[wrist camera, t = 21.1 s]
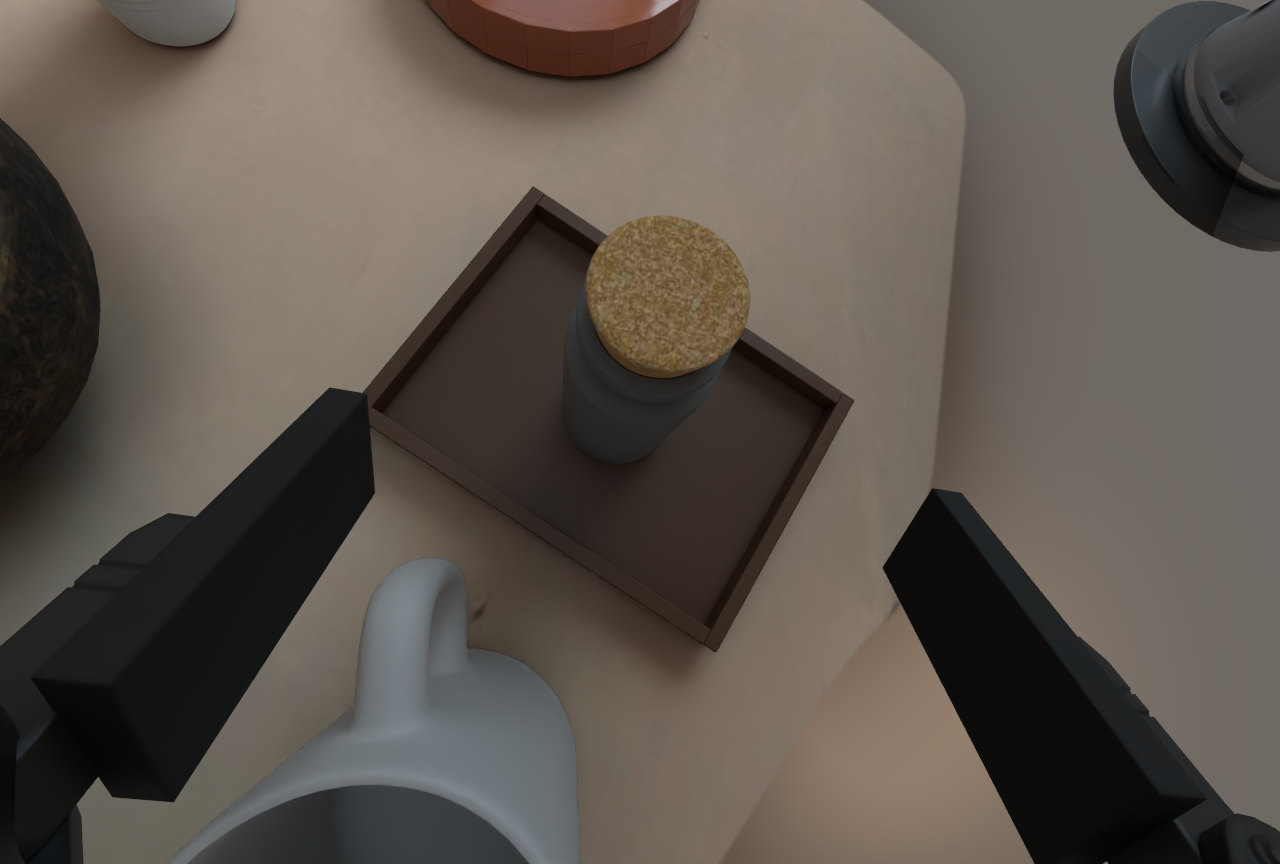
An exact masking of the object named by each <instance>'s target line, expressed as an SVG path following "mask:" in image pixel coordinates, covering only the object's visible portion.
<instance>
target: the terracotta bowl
mask: <svg viewBox="0 0 1280 864" xmlns="http://www.w3.org/2000/svg"><path fill="white" fill-rule="evenodd" d="M426 2H427V3H428V4H429V5H430V6H431V7H432V9H433V10H434V11H435V12H436V13H437V14H438V15H439V16H440V17H441V18H442V19H443V20H444V22H445V23H446V24H447V25H448V26H449V27H450V28H451V29H452V30H453V31H454V32H455V33H457V34H458V35H460V36H461V37H462V38H464V39H465V40H467V41H468V42H470V43H471V44H473V45H474V46H476V47H477V48H479V49H480V50H482V51H483V52H485V53H486V54H488V55H490V56H493V57H496V58H498V59H501V60H503V61H506V62H509V63H511V64H514V65H516V66H519V67H521V68H524V69H527V70H529V71H535V72H541V73H548V74H554V75H561V76H567V77H569V76H586V75H600V74H608V73H609V74H611V73H614V72H617V71H620V70H623V69H626V68H629V67H632V66H636V65H639V64H642V63H645V62H646V61H648V60H649V59H651V58H652V57H654V56H655V55H657V54H658V53H660V52H661V51H663V50H664V49H666V48H667V47H669V46H670V45H672V43H673V42H674V41H675V40H676V39H677V37H678V36H679V35H680V34H681V32H682V31H683V30H684V29H685V28H686V26H687V25H688V24H689V23H690V21H691V20H692V18H693V16H694V13H695V10H696V8H697V5H698V2H699V0H426Z"/></svg>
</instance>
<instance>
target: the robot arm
mask: <svg viewBox="0 0 1280 864" xmlns="http://www.w3.org/2000/svg"><path fill="white" fill-rule="evenodd" d="M1173 93H1174V102H1175V107H1176V111H1177V114H1178V117H1179V120H1180V122H1181V125H1182V127H1183V129H1184V131H1185V133H1186V135H1187V136H1188V138H1189V140H1190V141H1191V143H1192V144H1193V146H1194V147H1195V148H1196V150H1197V151H1198V152H1199V154H1200V155H1201V156H1202V157H1203V158H1204V159H1205V160H1206V162H1207V163H1208V164H1209V165H1210V166H1212V167H1213V168H1214V169H1215V170H1216V171H1217V172H1218V173H1220V174H1221V175H1222V176H1223V177H1225V178H1226V179H1228V180H1229V181H1231V182H1232V183H1234V184H1236V185H1237V186H1239V187H1241V188H1243V189H1245V190H1248V191H1250V192H1253V193H1256V194H1259V195H1262V196H1267V197H1273V198H1280V0H1268V1H1267V2H1265V3H1263V4H1261V5H1260V6H1258V7H1256V8H1254V9H1253V10H1251V11H1249V12H1247V13H1245V14H1243V15H1241V16H1239V17H1237V18H1235V19H1233V20H1231V21H1229V22H1227V23H1225V24H1224V25H1222V26H1220V27H1219V28H1217V29H1215V30H1214V31H1212V32H1211V33H1210V34H1208V35H1207V36H1206V37H1204V38H1203V39H1202V40H1200V41H1199V42H1198V43H1197V44H1195V45H1194V46H1193V47H1191V48H1190V49H1189V50H1188V51H1187V52H1186V53H1185V54H1184V55H1183V57H1182V58H1181V60H1180V62H1179V63H1178V66H1177V68H1176V71H1175V76H1174V83H1173ZM374 494H375V487H374V474H373V462H372V450H371V437H370V425H369V413H368V400H367V394H365V393H359V392H353V391H347V390H341V389H335V388H329V389H328V390H327V391H325V392H324V393H323V394H322V395H321V396H320V397H319V398H318V399H317V400H316V401H315V402H314V403H313V404H312V405H311V406H310V407H309V408H308V409H307V410H306V411H305V412H304V413H303V414H302V415H301V416H300V417H299V418H298V419H297V420H295V421H294V422H293V423H292V424H291V425H290V426H289V427H288V428H287V429H286V430H285V431H284V432H283V433H282V434H281V435H280V436H279V437H278V438H277V439H276V440H275V441H274V442H273V443H272V444H271V445H270V446H269V447H268V448H267V449H266V450H264V451H263V452H262V453H261V454H260V455H259V456H258V457H257V458H256V459H255V460H254V461H253V462H252V463H251V464H250V465H249V466H248V467H247V468H246V469H245V470H244V471H243V472H242V473H241V474H240V475H239V476H238V477H237V478H236V479H234V480H233V481H232V482H231V483H230V484H229V485H228V486H227V487H226V488H225V489H224V490H223V491H222V492H221V493H220V494H219V495H218V496H217V497H216V498H215V499H214V500H213V501H212V502H211V503H210V504H209V505H208V506H207V507H206V508H205V509H203V510H202V511H201V512H200V513H199V514H198V515H197V516H196V517H192V516H185V515H178V514H170V513H168V514H166V515H164V516H162V517H160V518H158V519H156V520H154V521H152V522H150V523H149V524H147V525H145V526H143V527H141V528H139V529H137V530H135V531H133V532H131V533H129V534H128V535H127V536H126V537H125V538H124V539H123V540H121V541H120V542H119V543H118V544H117V545H116V546H115V547H113V548H112V549H111V550H110V551H109V552H108V553H107V554H105V555H104V556H103V557H102V558H101V559H100V562H99V564H98V565H93V566H92V567H90V568H89V569H88V570H87V571H86V572H85V573H84V574H82V575H81V576H80V577H79V578H78V579H77V580H76V581H74V582H75V584H74V586H73V587H71V588H70V587H68V588H66V589H65V590H64V591H63V592H62V593H61V594H60V595H58V596H57V597H56V598H55V599H54V600H53V601H52V602H50V603H49V604H48V605H47V606H46V607H45V608H44V609H42V610H41V611H40V612H39V613H38V614H37V615H36V616H34V617H33V618H32V619H31V620H30V621H29V622H28V623H26V624H25V625H24V626H23V627H22V628H21V629H20V630H18V631H17V632H16V633H15V634H14V635H13V636H11V637H10V638H9V639H8V640H7V641H6V642H5V643H3V644H2V645H1V646H0V864H83V843H82V820H81V814H80V812H79V809H78V807H77V803H78V802H79V800H80V799H81V798H82V796H83V795H84V794H85V793H86V791H87V790H88V789H89V788H90V786H91V785H92V784H93V782H94V781H95V780H96V779H97V777H99V778H100V780H101V781H102V783H103V784H104V786H105V787H106V788H107V790H108V791H109V793H110V794H111V796H112V797H117V798H129V799H141V800H153V801H166V802H174V801H175V799H176V798H177V796H178V795H179V793H180V792H181V790H182V789H183V787H184V786H185V784H186V783H187V781H188V779H189V778H190V776H191V775H192V773H193V772H194V770H195V769H196V767H197V766H198V764H199V763H200V761H201V760H202V758H203V756H204V755H205V753H206V752H207V750H208V749H209V747H210V746H211V744H212V743H213V741H214V740H215V738H216V736H217V735H218V733H219V732H220V730H221V729H222V727H223V726H224V724H225V723H226V721H227V720H228V718H229V716H230V715H231V713H232V712H233V710H234V709H235V707H236V706H237V704H238V703H239V701H240V700H241V698H242V697H243V695H244V693H245V692H246V690H247V689H248V687H249V686H250V684H251V683H252V681H253V680H254V678H255V677H256V675H257V673H258V672H259V670H260V669H261V667H262V666H263V664H264V663H265V661H266V660H267V658H268V657H269V655H270V653H271V652H272V650H273V649H274V647H275V646H276V644H277V643H278V641H279V640H280V638H281V637H282V635H283V633H284V632H285V630H286V629H287V627H288V626H289V624H290V623H291V621H292V620H293V618H294V617H295V615H296V614H297V612H298V610H299V609H300V607H301V606H302V604H303V603H304V601H305V600H306V598H307V597H308V595H309V594H310V592H311V590H312V589H313V587H314V586H315V584H316V583H317V581H318V580H319V578H320V577H321V575H322V574H323V572H324V570H325V569H326V567H327V566H328V564H329V563H330V561H331V560H332V558H333V557H334V555H335V554H336V552H337V551H338V549H339V547H340V546H341V544H342V543H343V541H344V540H345V538H346V537H347V535H348V534H349V532H350V531H351V529H352V527H353V526H354V524H355V523H356V521H357V520H358V518H359V517H360V515H361V514H362V512H363V511H364V509H365V507H366V506H367V504H368V503H369V501H370V500H371V498H372V497H373V495H374ZM883 570H884V572H885V574H886V575H887V577H888V579H889V581H890V583H891V585H892V587H893V589H894V591H895V593H896V595H897V597H898V599H899V601H900V603H901V605H902V607H903V608H904V610H905V612H906V614H907V616H908V618H909V620H910V622H911V624H912V626H913V628H914V630H915V632H916V634H917V636H918V638H919V640H920V642H921V644H922V645H923V648H924V649H925V651H926V653H927V655H928V657H929V659H930V661H931V663H932V665H933V667H934V669H935V671H936V673H937V675H938V677H939V679H940V681H941V683H942V685H943V686H944V688H945V690H946V692H947V694H948V696H949V698H950V700H951V702H952V704H953V706H954V708H955V710H956V712H957V714H958V715H959V718H960V720H961V721H962V723H963V725H964V727H965V729H966V731H967V733H968V735H969V737H970V739H971V741H972V743H973V745H974V747H975V749H976V751H977V753H978V755H979V757H980V759H981V760H982V762H983V764H984V766H985V768H986V770H987V772H988V774H989V776H990V778H991V780H992V782H993V784H994V786H995V787H996V790H997V792H998V794H999V796H1000V797H1001V799H1002V801H1003V803H1004V805H1005V807H1006V809H1007V811H1008V813H1009V815H1010V817H1011V819H1012V821H1013V823H1014V825H1015V827H1016V829H1017V830H1018V833H1019V834H1020V836H1021V838H1022V840H1023V842H1024V844H1025V846H1026V848H1027V850H1028V852H1029V854H1030V856H1031V857H1032V860H1033V862H1034V864H1103V863H1104V862H1106V861H1107V862H1108V864H1280V832H1279V831H1278V830H1277V829H1275V828H1273V827H1271V826H1269V825H1268V824H1266V823H1264V822H1262V821H1260V820H1258V819H1256V818H1254V817H1250V816H1246V815H1242V814H1234V813H1233V811H1232V810H1231V809H1230V808H1229V807H1228V806H1227V805H1226V804H1225V803H1224V801H1223V800H1222V799H1221V798H1220V797H1219V795H1218V794H1217V793H1216V792H1215V790H1214V789H1213V788H1212V787H1211V786H1210V785H1209V783H1208V782H1207V781H1206V780H1205V779H1204V777H1203V776H1202V775H1201V773H1200V772H1199V771H1198V770H1197V769H1196V767H1195V766H1194V765H1193V764H1192V763H1191V761H1190V760H1189V759H1188V758H1187V756H1186V755H1185V754H1184V753H1183V752H1182V750H1180V748H1179V747H1178V746H1177V744H1176V743H1175V742H1174V741H1173V739H1172V738H1171V737H1170V736H1169V735H1168V734H1167V732H1166V731H1165V730H1164V729H1163V727H1162V726H1161V725H1160V724H1159V723H1158V721H1157V720H1156V719H1155V718H1154V717H1150V716H1149V710H1148V709H1147V708H1146V707H1145V706H1144V705H1143V703H1142V702H1141V701H1140V699H1138V697H1137V696H1136V695H1135V694H1131V692H1130V690H1131V689H1130V687H1129V686H1128V685H1127V684H1126V683H1125V681H1124V680H1123V679H1122V678H1121V676H1120V675H1119V674H1118V673H1117V672H1116V670H1115V669H1114V668H1113V667H1112V665H1111V664H1110V663H1109V662H1108V661H1107V660H1106V659H1105V658H1103V657H1102V656H1101V655H1100V654H1099V653H1098V652H1097V651H1095V650H1094V649H1093V648H1092V647H1091V646H1090V645H1088V644H1087V643H1086V642H1085V641H1084V640H1083V639H1082V638H1080V637H1077V636H1076V634H1075V633H1074V632H1073V631H1072V629H1071V628H1070V627H1069V626H1068V624H1067V623H1066V622H1065V621H1064V620H1063V619H1062V617H1061V616H1060V615H1059V613H1058V612H1057V611H1056V610H1055V608H1054V607H1053V606H1052V605H1051V603H1050V602H1049V601H1048V600H1047V598H1046V597H1045V596H1044V595H1043V593H1042V592H1041V591H1040V590H1039V588H1038V587H1037V586H1036V585H1035V584H1034V582H1033V581H1032V580H1031V579H1030V577H1029V576H1028V575H1027V574H1026V572H1025V571H1024V570H1023V569H1022V567H1021V566H1020V565H1019V564H1018V562H1017V561H1016V560H1015V559H1014V557H1013V556H1012V555H1011V554H1010V552H1009V551H1008V550H1007V549H1006V548H1005V546H1004V545H1003V544H1002V543H1001V541H1000V540H999V539H998V538H997V536H996V535H995V534H994V533H993V531H992V530H991V529H990V528H989V526H988V525H987V524H986V523H985V521H984V520H983V519H982V518H981V516H980V515H979V514H978V513H977V511H976V510H975V509H974V508H973V506H972V505H971V504H970V503H969V502H968V501H967V499H966V498H965V497H964V495H963V494H962V493H958V492H951V491H946V490H940V489H934V488H932V490H931V492H930V493H929V495H928V496H927V498H926V499H925V501H924V503H923V504H922V506H921V507H920V509H919V511H918V512H917V514H916V515H915V517H914V518H913V520H912V522H911V523H910V525H909V526H908V528H907V530H906V531H905V533H904V534H903V536H902V537H901V539H900V541H899V542H898V544H897V545H896V547H895V549H894V550H893V552H892V553H891V555H890V557H889V558H888V560H887V561H886V563H885V564H884V566H883Z"/></svg>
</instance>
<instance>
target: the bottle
mask: <svg viewBox="0 0 1280 864" xmlns="http://www.w3.org/2000/svg"><path fill="white" fill-rule="evenodd" d="M749 308H750V293H749V286H748V280H747V278H746V275H745V272H744V269H743V267H742V265H741V263H740V262H739V260H738V258H737V256H736V255H735V253H734V252H733V251H732V249H731V248H730V247H729V246H728V244H727V243H726V242H724V241H723V240H722V239H721V238H720V237H719V236H718V235H716V234H715V233H713V232H712V231H711V230H709V229H708V228H706V227H704V226H702V225H700V224H697V223H695V222H693V221H690V220H687V219H684V218H680V217H673V216H651V217H645V218H640V219H637V220H634V221H631V222H629V223H627V224H625V225H623V226H621V227H619V228H618V229H616V230H615V231H614V232H612V233H611V234H610V235H609V236H607V237H606V238H605V240H604V241H603V242H602V243H601V244H600V246H599V247H598V249H597V250H596V252H595V253H594V255H593V257H592V259H591V262H590V265H589V268H588V271H587V275H586V281H585V282H584V285H583V287H582V289H581V292H580V295H579V298H578V304H577V306H576V308H575V310H574V311H573V313H572V315H571V317H570V319H569V322H568V325H567V330H566V334H565V341H564V355H563V416H564V421H565V426H566V428H567V431H568V433H569V436H570V437H571V439H572V440H573V442H574V443H575V444H576V446H577V447H578V448H579V449H580V450H581V451H583V452H584V453H585V454H587V455H588V456H590V457H591V458H593V459H595V460H598V461H601V462H605V463H609V464H625V463H630V462H633V461H636V460H639V459H641V458H643V457H645V456H646V455H648V454H649V453H650V452H652V451H653V450H654V449H655V448H657V447H658V446H659V445H660V444H661V443H662V442H663V441H664V440H665V439H666V438H667V437H668V436H669V435H670V434H671V433H673V432H674V431H675V430H676V429H677V428H678V427H679V426H680V425H681V424H682V423H683V422H684V421H685V420H686V419H688V418H689V417H690V416H691V415H692V413H693V412H694V411H695V410H696V409H697V408H698V407H699V406H700V405H701V404H702V403H703V402H704V400H705V399H706V398H707V397H708V396H709V394H710V392H711V391H712V389H713V388H714V386H715V384H716V381H717V379H718V376H719V373H720V370H721V368H722V367H723V365H724V364H725V362H726V360H727V359H728V357H729V355H730V352H731V349H732V347H733V346H734V345H735V343H736V342H737V341H738V339H739V338H740V336H741V334H742V332H743V329H744V327H745V325H746V322H747V319H748V314H749Z"/></svg>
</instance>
